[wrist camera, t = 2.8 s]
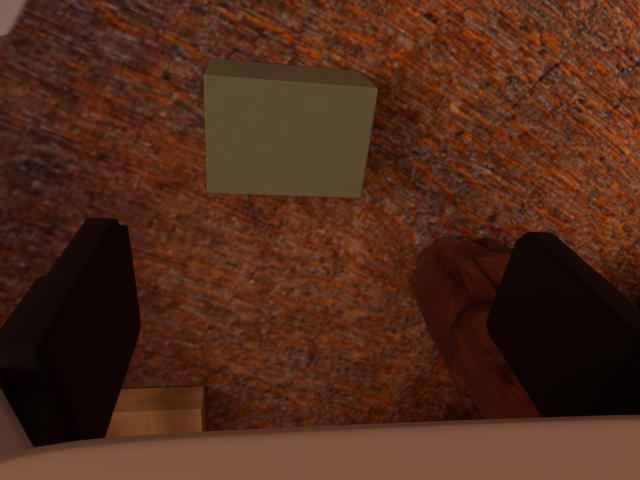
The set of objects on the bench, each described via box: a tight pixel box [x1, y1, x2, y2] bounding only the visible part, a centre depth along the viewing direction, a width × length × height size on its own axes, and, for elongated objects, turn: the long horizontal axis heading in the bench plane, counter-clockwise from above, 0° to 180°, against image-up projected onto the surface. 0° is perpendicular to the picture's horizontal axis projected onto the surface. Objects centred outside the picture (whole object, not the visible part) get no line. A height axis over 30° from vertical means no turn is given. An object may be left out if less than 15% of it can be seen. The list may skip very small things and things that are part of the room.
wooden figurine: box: [410, 238, 542, 420], centre depth 22 cm, size 12×6×18 cm, turn 71°
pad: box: [204, 59, 378, 198], centre depth 20 cm, size 7×5×4 cm
